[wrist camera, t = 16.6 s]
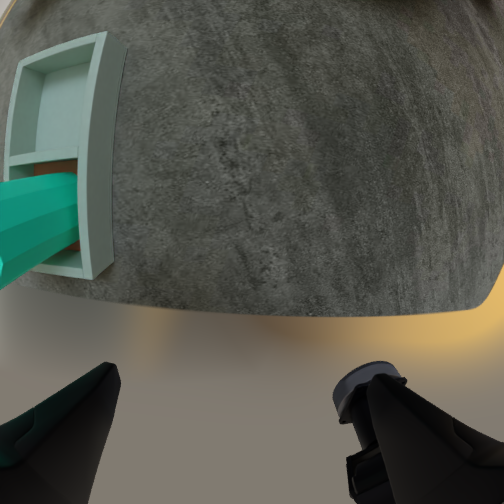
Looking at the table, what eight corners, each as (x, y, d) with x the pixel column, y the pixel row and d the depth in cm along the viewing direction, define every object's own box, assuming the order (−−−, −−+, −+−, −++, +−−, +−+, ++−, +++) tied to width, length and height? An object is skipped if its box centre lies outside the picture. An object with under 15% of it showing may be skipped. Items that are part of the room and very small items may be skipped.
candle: (37, 231, 18) (-61, 284, 7) (47, 164, 17) (-68, 184, 5) (87, 253, 19) (-12, 330, 8) (101, 180, 18) (-24, 212, 6)
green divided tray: (127, 48, 15) (107, 30, 11) (114, 261, 20) (93, 280, 16) (44, 69, 14) (18, 61, 11) (37, 253, 20) (12, 267, 16)
